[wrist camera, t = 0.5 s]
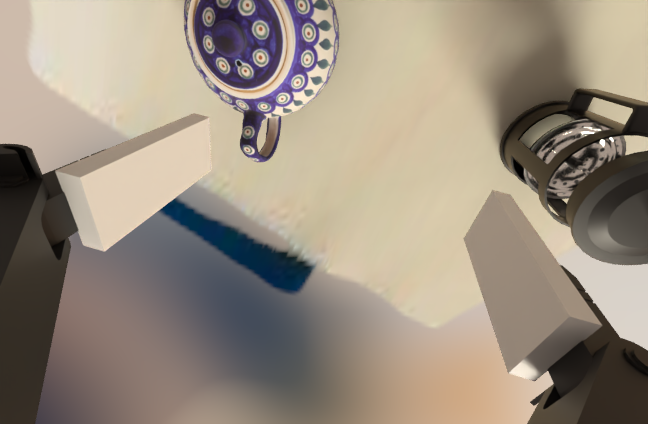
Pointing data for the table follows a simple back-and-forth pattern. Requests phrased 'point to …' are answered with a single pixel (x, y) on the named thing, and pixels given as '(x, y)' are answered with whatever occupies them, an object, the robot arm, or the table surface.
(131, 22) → the table surface
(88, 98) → the table surface
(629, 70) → the table surface
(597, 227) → the french press
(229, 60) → the teapot
